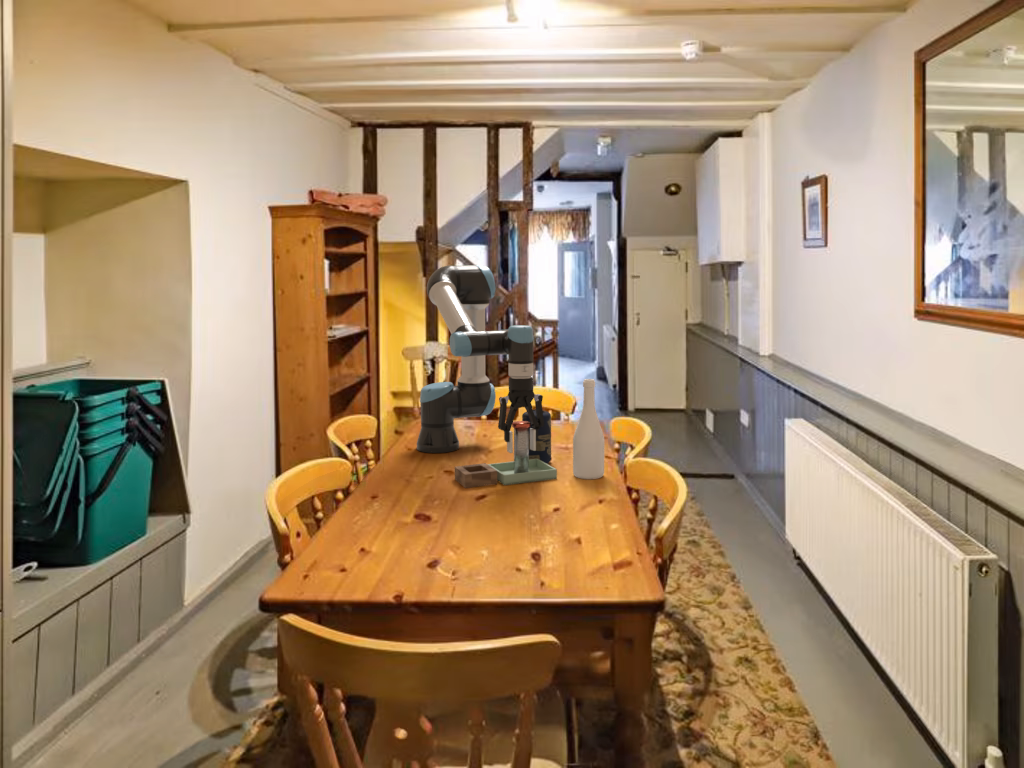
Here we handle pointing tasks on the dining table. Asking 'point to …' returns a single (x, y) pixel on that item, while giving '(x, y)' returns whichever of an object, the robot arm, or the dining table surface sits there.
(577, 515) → the dining table surface
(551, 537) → the dining table surface
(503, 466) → the tray
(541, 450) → the canister
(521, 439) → the pin
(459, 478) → the socket block
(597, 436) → the wine bottle
